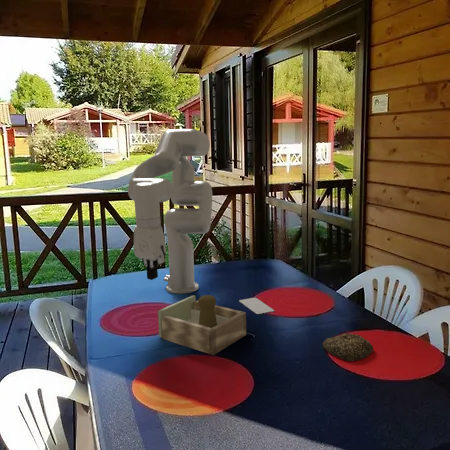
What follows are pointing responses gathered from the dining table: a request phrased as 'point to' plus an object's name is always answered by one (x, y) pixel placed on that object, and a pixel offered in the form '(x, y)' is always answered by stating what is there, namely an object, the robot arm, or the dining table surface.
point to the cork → (207, 311)
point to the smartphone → (256, 306)
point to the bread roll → (348, 347)
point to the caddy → (206, 331)
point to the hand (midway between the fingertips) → (152, 278)
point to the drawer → (184, 312)
